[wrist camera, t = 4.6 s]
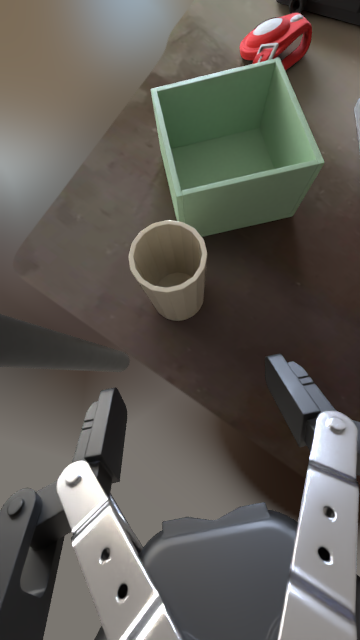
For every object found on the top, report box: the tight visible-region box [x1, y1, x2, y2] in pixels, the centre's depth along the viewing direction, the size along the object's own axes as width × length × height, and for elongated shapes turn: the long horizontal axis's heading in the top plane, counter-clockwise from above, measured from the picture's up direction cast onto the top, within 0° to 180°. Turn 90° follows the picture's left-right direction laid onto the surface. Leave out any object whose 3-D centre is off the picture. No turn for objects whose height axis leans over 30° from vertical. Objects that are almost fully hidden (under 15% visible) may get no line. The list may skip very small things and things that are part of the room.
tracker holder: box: [240, 13, 312, 71], centre depth 34 cm, size 12×4×10 cm
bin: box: [151, 58, 324, 237], centre depth 28 cm, size 14×14×8 cm
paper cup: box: [129, 220, 207, 321], centre depth 24 cm, size 6×6×10 cm
